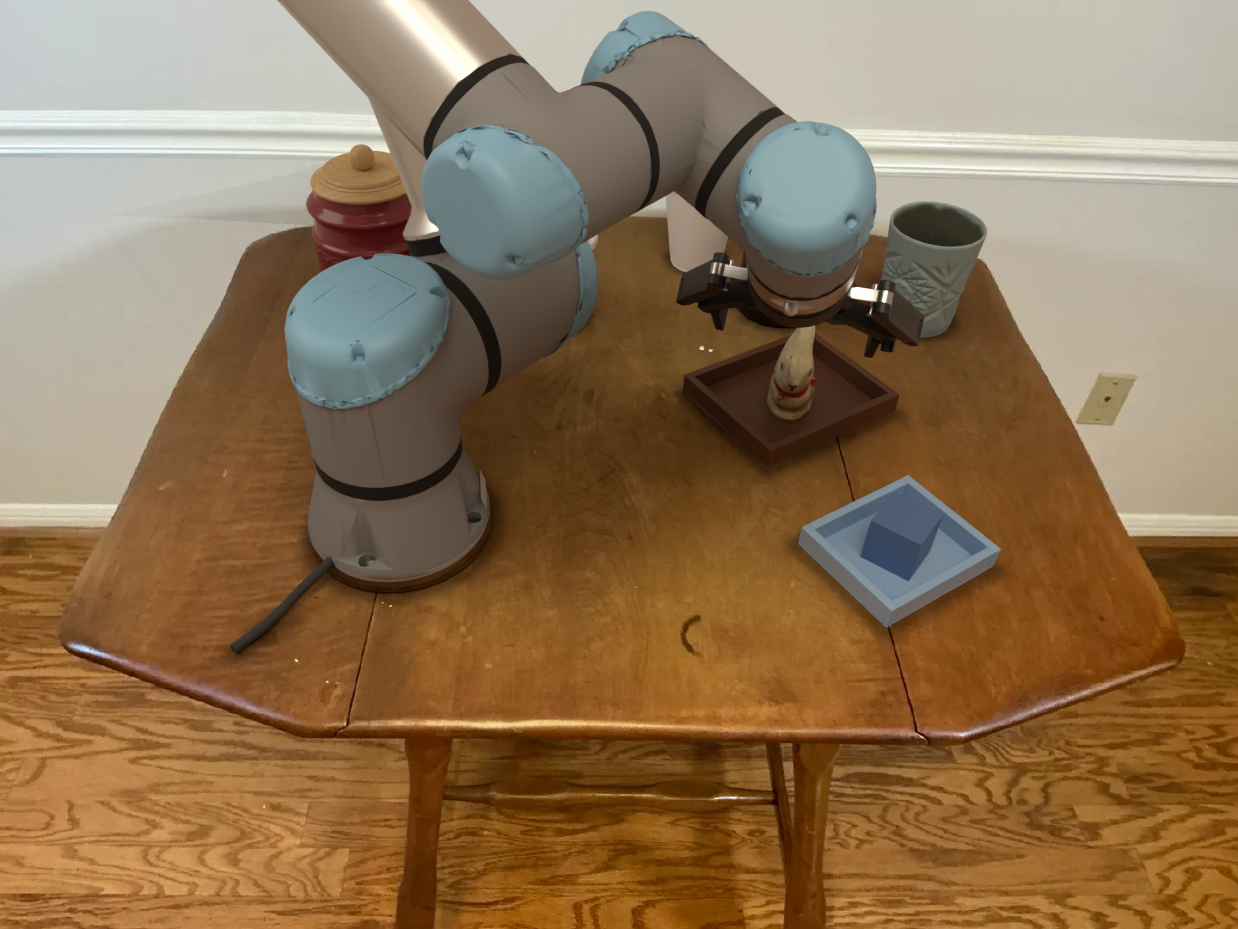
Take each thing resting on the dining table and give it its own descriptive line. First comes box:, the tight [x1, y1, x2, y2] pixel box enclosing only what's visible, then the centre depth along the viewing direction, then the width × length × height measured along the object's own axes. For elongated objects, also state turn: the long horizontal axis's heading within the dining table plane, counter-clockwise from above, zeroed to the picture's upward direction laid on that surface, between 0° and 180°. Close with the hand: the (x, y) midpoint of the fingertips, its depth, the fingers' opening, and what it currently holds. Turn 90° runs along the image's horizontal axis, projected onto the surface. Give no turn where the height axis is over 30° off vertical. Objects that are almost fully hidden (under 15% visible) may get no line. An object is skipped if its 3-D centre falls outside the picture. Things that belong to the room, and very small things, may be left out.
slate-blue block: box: [860, 492, 943, 581], centre depth 79 cm, size 4×4×4 cm
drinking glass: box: [880, 200, 988, 339], centre depth 105 cm, size 10×10×12 cm
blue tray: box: [797, 474, 1002, 628], centre depth 80 cm, size 13×11×3 cm
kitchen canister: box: [305, 143, 412, 273], centre depth 103 cm, size 13×13×18 cm
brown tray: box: [681, 332, 900, 468], centre depth 95 cm, size 17×14×3 cm
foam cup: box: [665, 192, 729, 273], centre depth 113 cm, size 10×9×13 cm
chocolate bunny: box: [767, 325, 817, 422], centre depth 92 cm, size 6×8×10 cm
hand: (795, 329), depth 86 cm, fingers open, 13 cm apart
